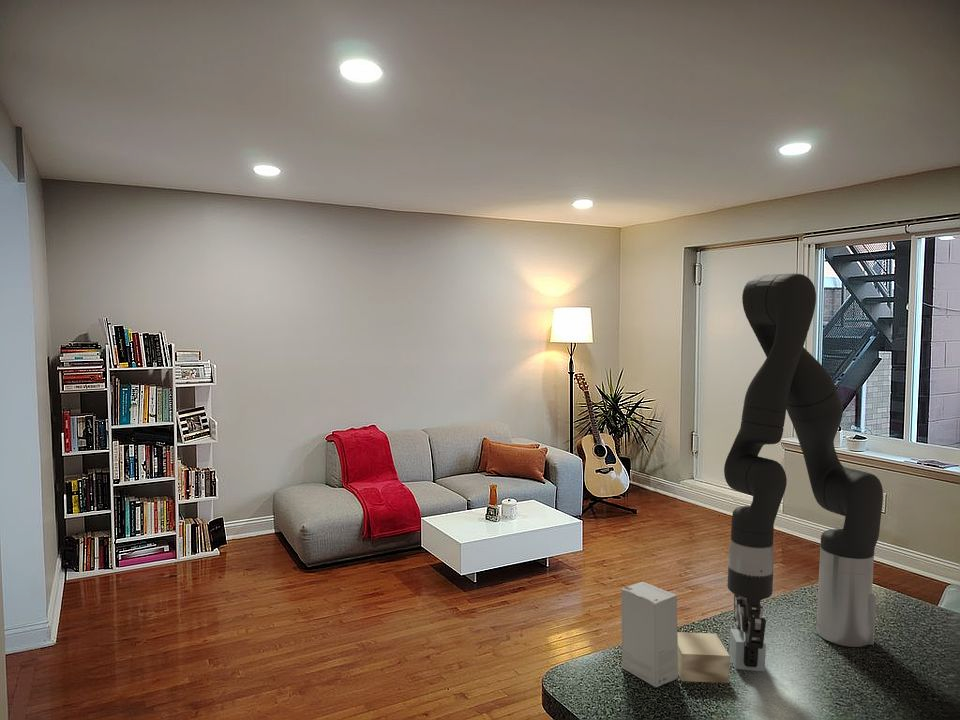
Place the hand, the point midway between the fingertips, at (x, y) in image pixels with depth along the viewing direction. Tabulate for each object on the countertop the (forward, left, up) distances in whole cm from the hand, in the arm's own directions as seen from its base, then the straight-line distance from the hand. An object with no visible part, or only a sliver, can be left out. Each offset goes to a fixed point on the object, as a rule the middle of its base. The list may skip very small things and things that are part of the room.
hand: (746, 657), depth 122 cm
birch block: (+9, +4, -1) cm, 10 cm away
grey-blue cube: (0, 0, -1) cm, 1 cm away
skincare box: (+18, +7, -1) cm, 19 cm away
